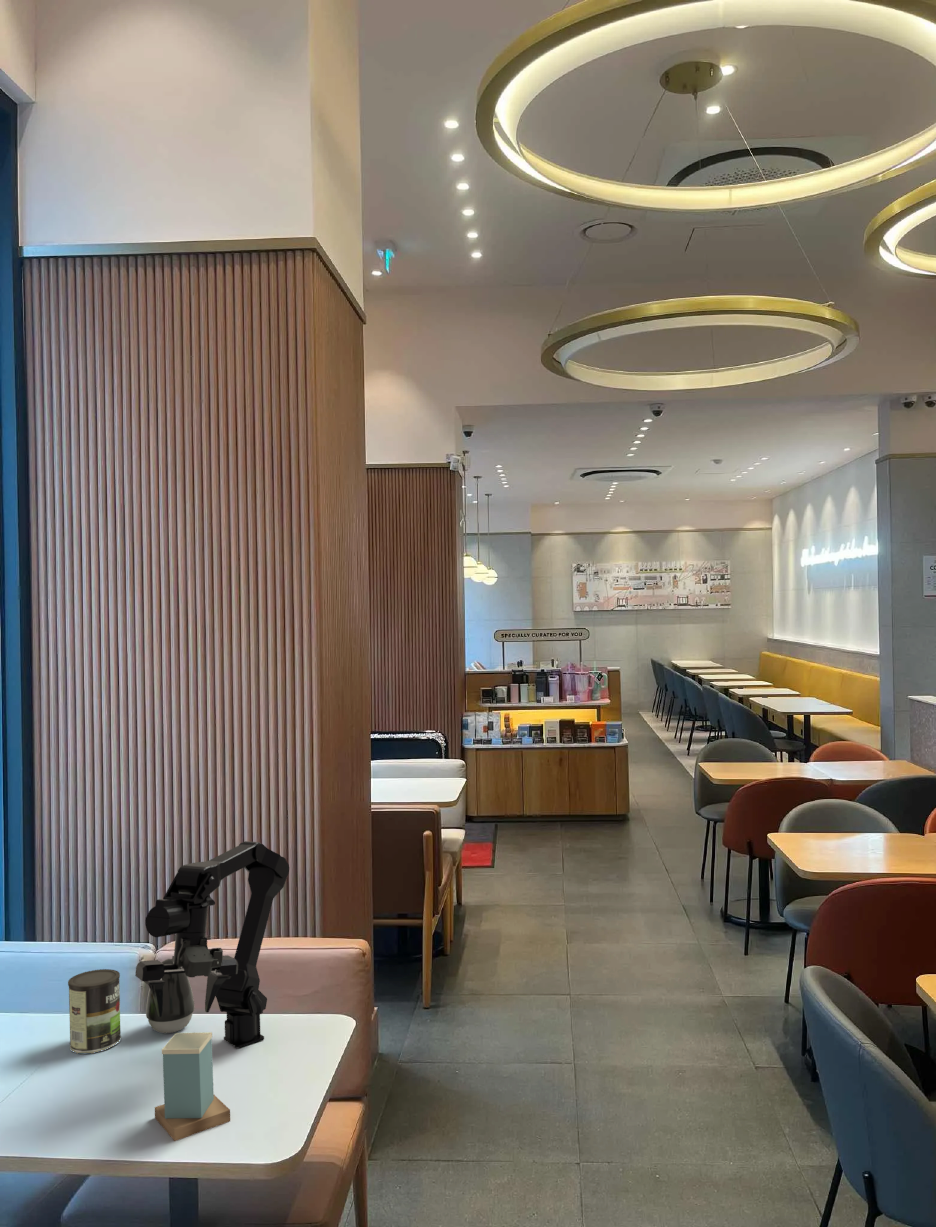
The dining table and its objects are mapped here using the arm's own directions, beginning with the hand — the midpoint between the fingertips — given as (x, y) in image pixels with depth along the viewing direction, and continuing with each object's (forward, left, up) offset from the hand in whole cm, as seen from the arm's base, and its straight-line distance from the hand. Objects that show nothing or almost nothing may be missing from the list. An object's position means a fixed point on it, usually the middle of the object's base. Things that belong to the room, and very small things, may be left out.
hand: (183, 1014), depth 182 cm
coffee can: (+7, -29, -13) cm, 33 cm away
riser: (+5, +16, -13) cm, 21 cm away
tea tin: (+6, +16, -11) cm, 20 cm away
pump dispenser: (-8, -25, -13) cm, 29 cm away
